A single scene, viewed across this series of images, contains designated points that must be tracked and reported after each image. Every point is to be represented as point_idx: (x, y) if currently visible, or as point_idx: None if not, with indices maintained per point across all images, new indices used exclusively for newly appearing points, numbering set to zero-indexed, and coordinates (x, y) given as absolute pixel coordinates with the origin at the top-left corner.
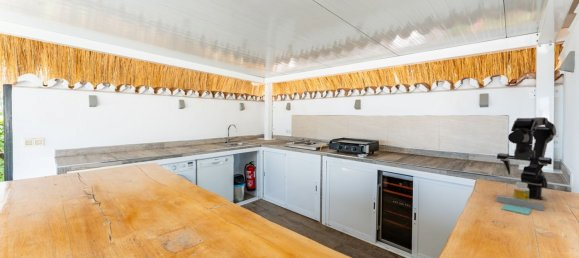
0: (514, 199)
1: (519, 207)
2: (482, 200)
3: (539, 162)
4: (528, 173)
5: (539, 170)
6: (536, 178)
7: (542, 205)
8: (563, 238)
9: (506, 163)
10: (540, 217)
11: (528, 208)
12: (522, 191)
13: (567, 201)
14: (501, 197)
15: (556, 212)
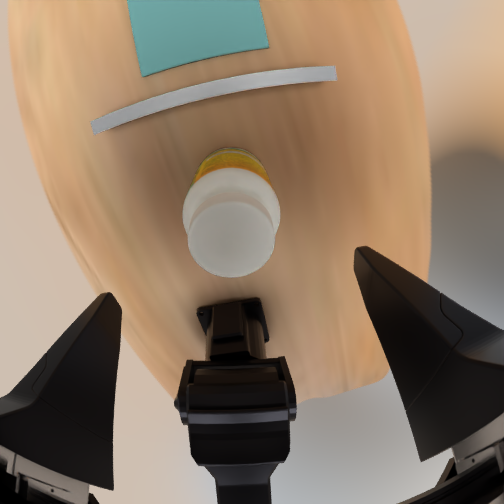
0: (230, 77)
1: (190, 44)
2: (373, 37)
3: (4, 470)
4: (252, 414)
5: (35, 366)
6: (204, 391)
7: (97, 119)
8: None
9: (489, 344)
10: (88, 7)
11: (155, 72)
12: (209, 172)
13: (150, 354)
14: (305, 68)
15: (77, 158)
